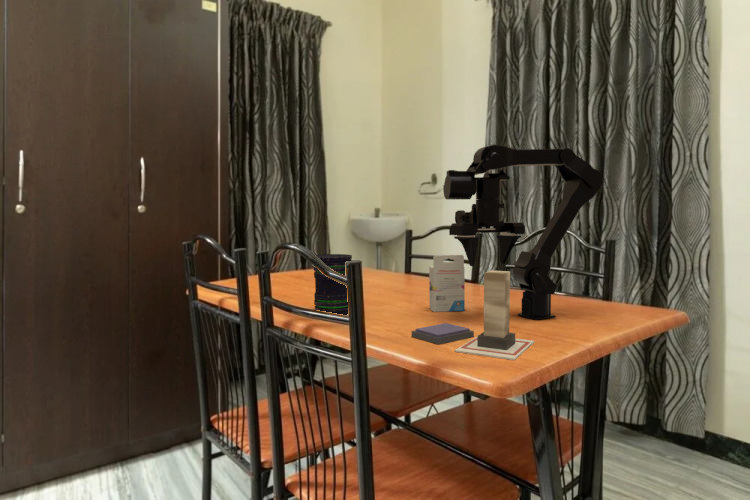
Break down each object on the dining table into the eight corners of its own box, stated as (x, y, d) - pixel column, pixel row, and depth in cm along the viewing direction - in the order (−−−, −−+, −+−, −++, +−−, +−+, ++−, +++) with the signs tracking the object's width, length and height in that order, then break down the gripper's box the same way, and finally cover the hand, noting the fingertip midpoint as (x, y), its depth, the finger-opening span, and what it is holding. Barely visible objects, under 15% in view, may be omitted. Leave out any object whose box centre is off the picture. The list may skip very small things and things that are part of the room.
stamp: (486, 339, 100) (487, 269, 99) (515, 343, 97) (516, 271, 96) (477, 346, 95) (477, 272, 94) (506, 350, 93) (507, 274, 92)
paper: (480, 335, 105) (480, 333, 105) (534, 342, 99) (534, 340, 99) (454, 351, 93) (454, 349, 93) (514, 360, 87) (514, 357, 87)
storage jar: (338, 319, 123) (337, 258, 122) (306, 315, 128) (305, 256, 127) (360, 312, 131) (359, 254, 130) (329, 308, 136) (329, 253, 135)
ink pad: (446, 329, 110) (446, 322, 110) (473, 336, 104) (473, 328, 104) (411, 336, 104) (411, 328, 104) (438, 344, 98) (438, 335, 98)
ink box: (459, 307, 136) (460, 253, 135) (464, 311, 131) (465, 254, 130) (428, 308, 135) (428, 253, 134) (432, 312, 130) (432, 255, 129)
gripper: (496, 200, 131) (495, 260, 132) (436, 200, 122) (435, 264, 124) (527, 199, 121) (526, 264, 122) (464, 198, 113) (463, 268, 114)
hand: (487, 265), depth 121 cm, fingers open, 9 cm apart
